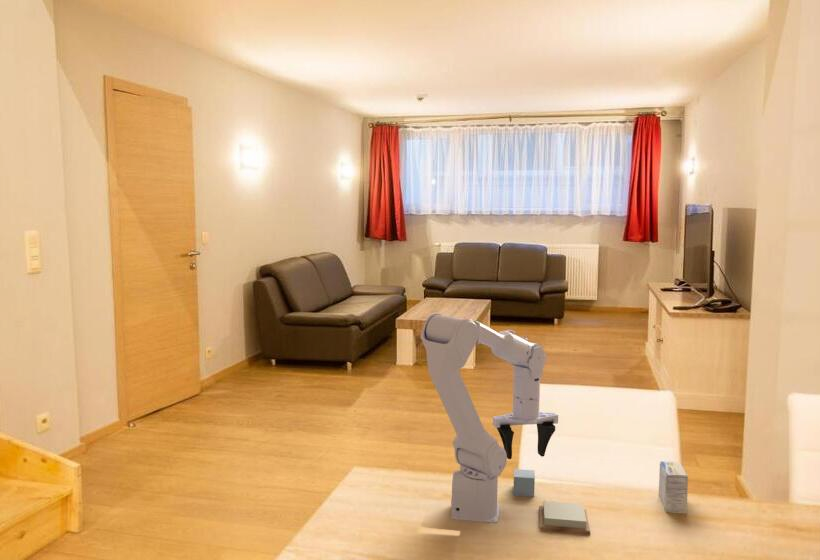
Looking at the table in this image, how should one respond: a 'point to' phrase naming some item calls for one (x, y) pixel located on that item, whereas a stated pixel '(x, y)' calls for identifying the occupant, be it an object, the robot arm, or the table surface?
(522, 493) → the cube
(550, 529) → the tower base
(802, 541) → the table surface
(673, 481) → the medicine box
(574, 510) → the tower top
